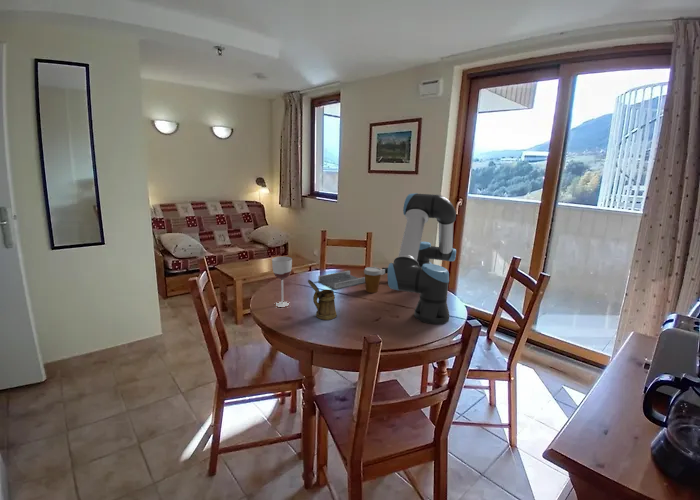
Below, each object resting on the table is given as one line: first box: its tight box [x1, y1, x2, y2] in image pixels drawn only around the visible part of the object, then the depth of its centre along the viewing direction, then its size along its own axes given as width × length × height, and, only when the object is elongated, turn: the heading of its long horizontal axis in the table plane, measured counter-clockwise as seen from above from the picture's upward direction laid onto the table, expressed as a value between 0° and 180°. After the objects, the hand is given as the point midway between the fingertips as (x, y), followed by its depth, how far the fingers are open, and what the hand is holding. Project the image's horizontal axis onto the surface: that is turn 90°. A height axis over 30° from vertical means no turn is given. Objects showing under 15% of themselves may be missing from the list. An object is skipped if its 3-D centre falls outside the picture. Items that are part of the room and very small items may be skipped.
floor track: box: [317, 270, 365, 291], centre depth 204 cm, size 22×16×3 cm
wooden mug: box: [307, 279, 338, 321], centre depth 155 cm, size 9×14×18 cm, turn 124°
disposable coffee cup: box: [363, 266, 382, 294], centre depth 191 cm, size 10×10×12 cm
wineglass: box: [271, 256, 293, 307], centre depth 167 cm, size 9×10×22 cm
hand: (384, 276), depth 196 cm, fingers open, 13 cm apart
